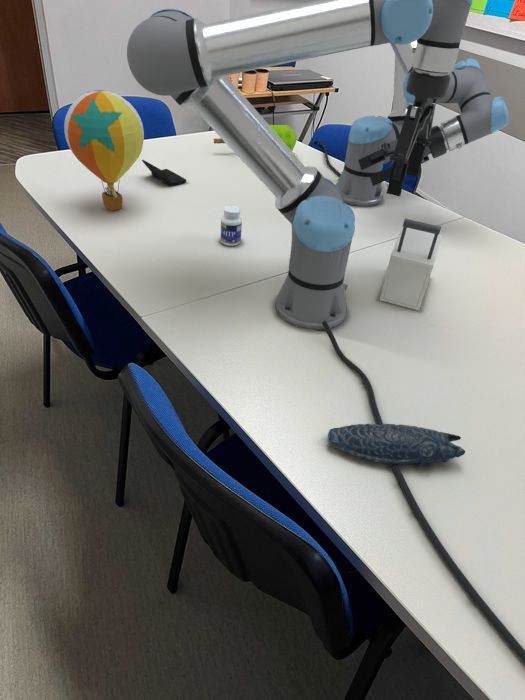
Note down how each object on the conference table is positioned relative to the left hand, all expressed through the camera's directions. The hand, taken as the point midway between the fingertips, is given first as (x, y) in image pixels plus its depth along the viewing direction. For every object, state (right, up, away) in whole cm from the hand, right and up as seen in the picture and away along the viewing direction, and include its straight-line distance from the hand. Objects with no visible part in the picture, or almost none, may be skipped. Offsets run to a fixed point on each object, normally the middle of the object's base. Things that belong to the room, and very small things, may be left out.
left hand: (402, 184), depth 109 cm
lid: (+5, -12, +7) cm, 15 cm away
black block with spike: (-60, +19, +56) cm, 84 cm away
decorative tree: (-32, +36, +80) cm, 94 cm away
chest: (+4, -20, +14) cm, 25 cm away
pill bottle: (-38, -7, +26) cm, 46 cm away
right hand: (-1, +14, +34) cm, 37 cm away
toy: (-71, +5, +37) cm, 80 cm away
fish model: (-9, -51, -26) cm, 58 cm away
